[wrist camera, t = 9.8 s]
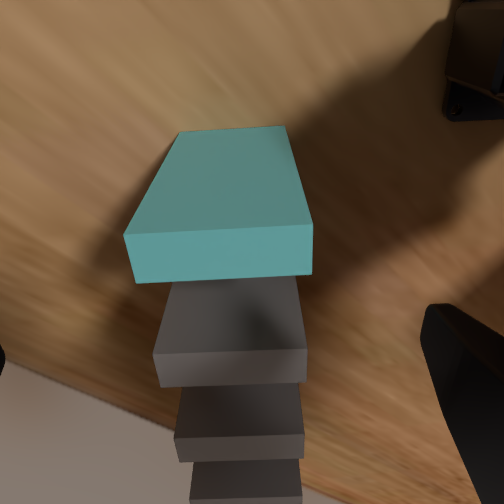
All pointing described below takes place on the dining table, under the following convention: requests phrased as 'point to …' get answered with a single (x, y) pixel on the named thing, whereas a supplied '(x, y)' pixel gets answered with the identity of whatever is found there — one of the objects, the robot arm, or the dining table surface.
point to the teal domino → (223, 210)
